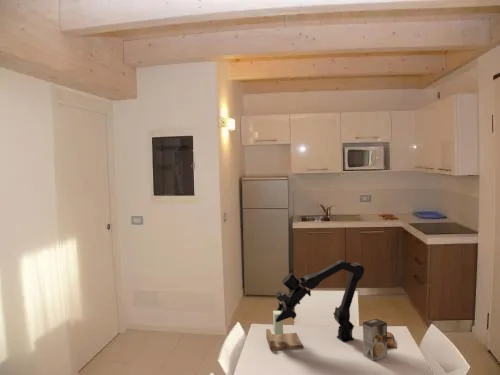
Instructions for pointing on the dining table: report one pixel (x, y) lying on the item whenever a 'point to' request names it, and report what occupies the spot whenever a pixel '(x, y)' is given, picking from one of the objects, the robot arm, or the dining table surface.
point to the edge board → (283, 340)
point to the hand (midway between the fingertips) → (275, 319)
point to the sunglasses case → (390, 341)
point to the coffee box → (375, 339)
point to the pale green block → (277, 323)
